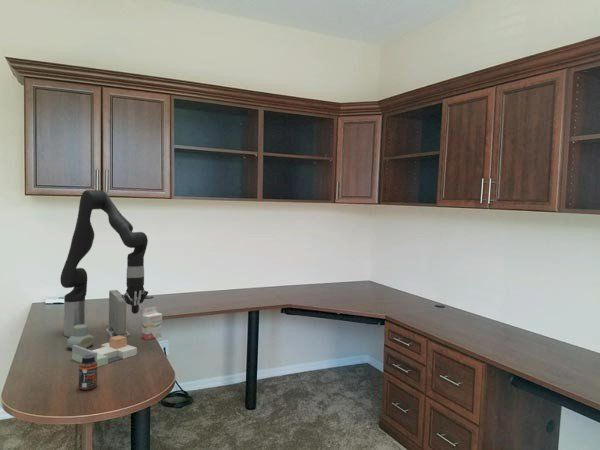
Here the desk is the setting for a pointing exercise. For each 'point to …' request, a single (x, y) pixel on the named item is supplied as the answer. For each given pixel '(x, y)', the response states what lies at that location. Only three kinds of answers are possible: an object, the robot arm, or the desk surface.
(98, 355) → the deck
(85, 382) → the supplement bottle
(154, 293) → the desk surface
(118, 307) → the network device
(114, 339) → the block
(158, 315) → the ink cartridge box
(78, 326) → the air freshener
